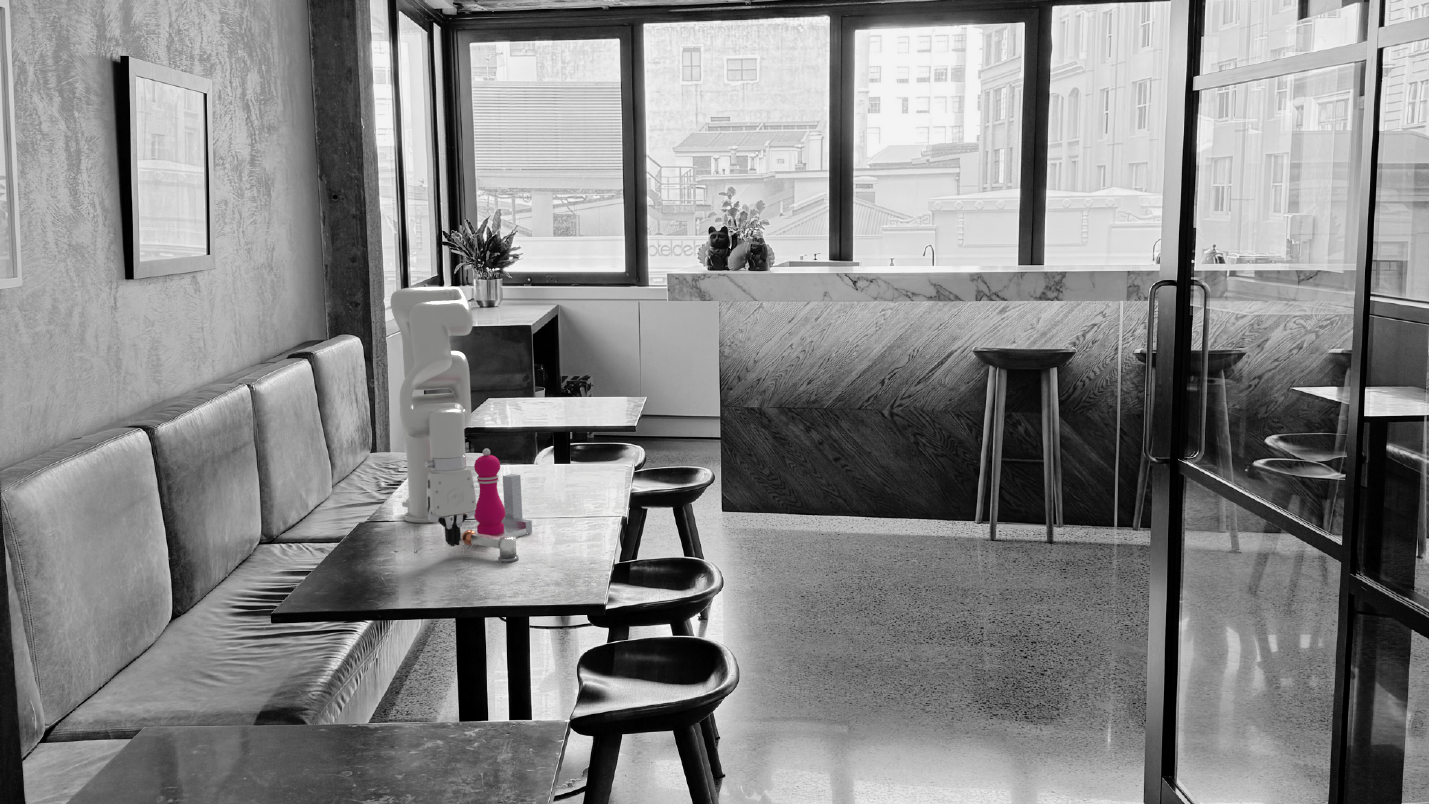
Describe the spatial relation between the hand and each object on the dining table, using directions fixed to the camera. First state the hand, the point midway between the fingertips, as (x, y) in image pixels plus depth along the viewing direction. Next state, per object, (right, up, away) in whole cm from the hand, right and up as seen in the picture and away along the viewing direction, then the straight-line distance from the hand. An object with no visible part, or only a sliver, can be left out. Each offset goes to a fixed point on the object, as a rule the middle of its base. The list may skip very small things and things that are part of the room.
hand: (453, 544), depth 262 cm
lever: (+8, -2, -1) cm, 8 cm away
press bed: (+10, -1, +10) cm, 15 cm away
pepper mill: (+6, +1, +15) cm, 16 cm away
